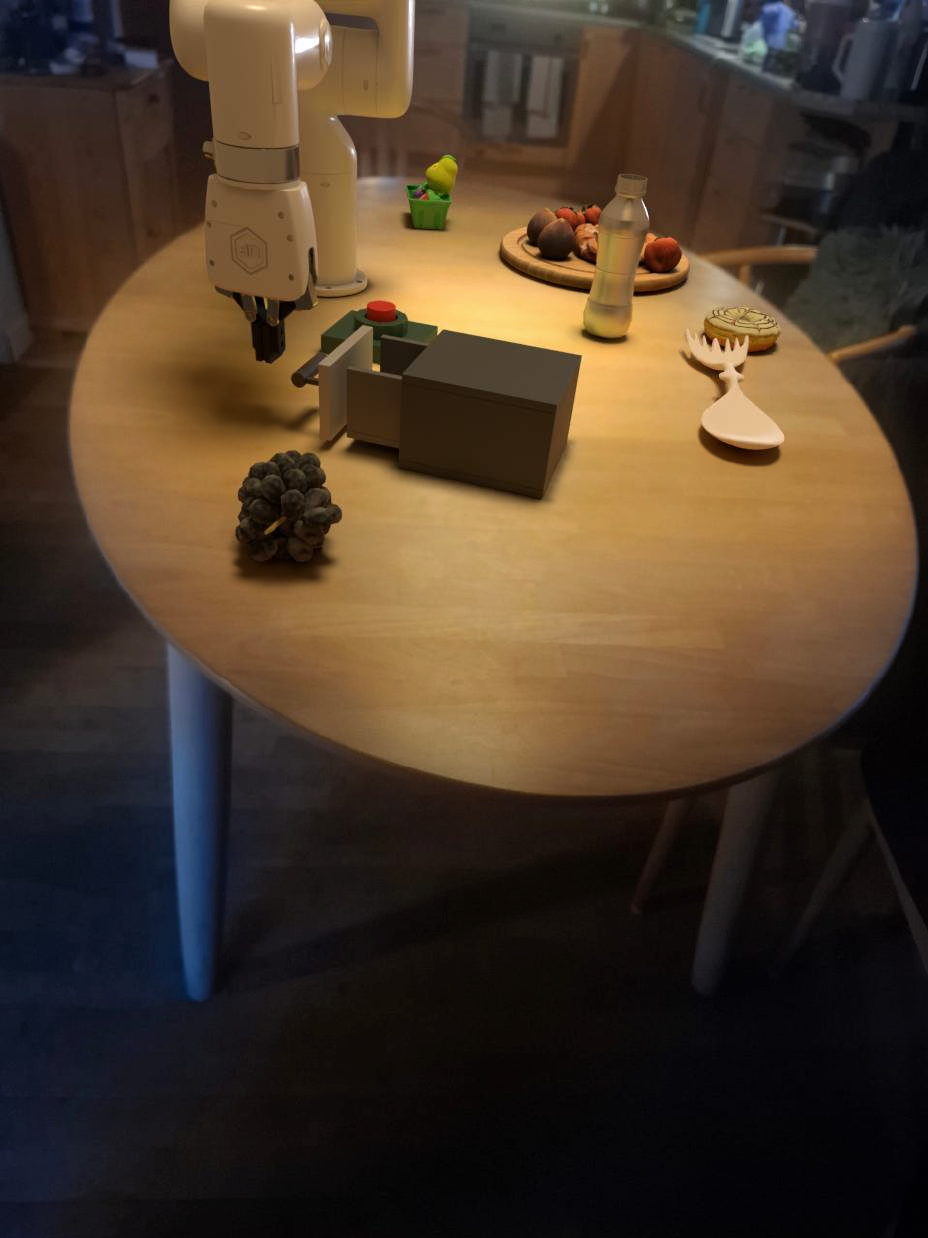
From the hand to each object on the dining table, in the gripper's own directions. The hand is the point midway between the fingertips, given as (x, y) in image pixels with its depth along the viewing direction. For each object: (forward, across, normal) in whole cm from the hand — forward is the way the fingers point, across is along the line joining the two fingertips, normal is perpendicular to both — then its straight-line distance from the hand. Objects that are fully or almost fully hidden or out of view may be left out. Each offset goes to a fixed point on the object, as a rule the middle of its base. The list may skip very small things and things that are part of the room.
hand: (269, 357), depth 90 cm
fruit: (+6, +12, -21) cm, 25 cm away
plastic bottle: (+6, +30, +41) cm, 51 cm away
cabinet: (+6, +24, 0) cm, 25 cm away
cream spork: (+6, +48, +26) cm, 55 cm away
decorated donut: (+6, +48, +49) cm, 69 cm away
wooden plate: (+6, +23, +74) cm, 77 cm away
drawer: (+5, +13, 0) cm, 14 cm away
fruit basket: (+6, -9, +82) cm, 83 cm away
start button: (+2, +4, +22) cm, 23 cm away
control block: (+6, +4, +22) cm, 23 cm away
